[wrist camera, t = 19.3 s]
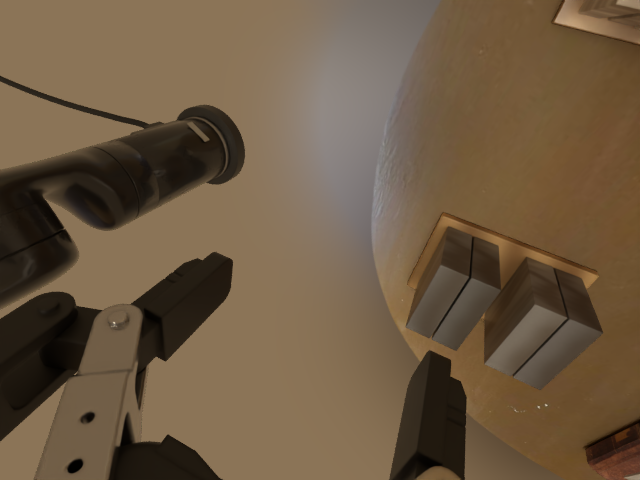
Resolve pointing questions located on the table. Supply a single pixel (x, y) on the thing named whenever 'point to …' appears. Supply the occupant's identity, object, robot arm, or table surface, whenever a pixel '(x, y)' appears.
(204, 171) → the robot arm
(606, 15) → the upright slab rack
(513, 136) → the table surface
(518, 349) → the paired blocks on board
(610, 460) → the book
